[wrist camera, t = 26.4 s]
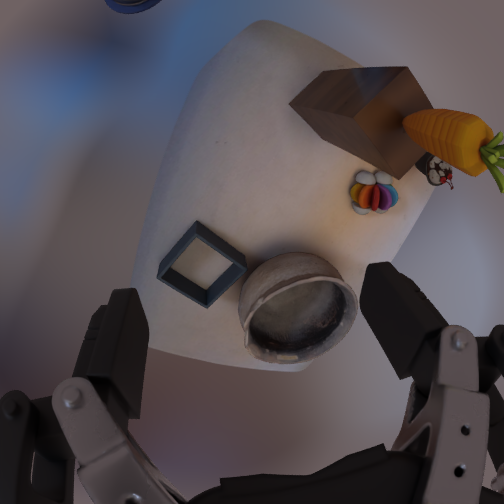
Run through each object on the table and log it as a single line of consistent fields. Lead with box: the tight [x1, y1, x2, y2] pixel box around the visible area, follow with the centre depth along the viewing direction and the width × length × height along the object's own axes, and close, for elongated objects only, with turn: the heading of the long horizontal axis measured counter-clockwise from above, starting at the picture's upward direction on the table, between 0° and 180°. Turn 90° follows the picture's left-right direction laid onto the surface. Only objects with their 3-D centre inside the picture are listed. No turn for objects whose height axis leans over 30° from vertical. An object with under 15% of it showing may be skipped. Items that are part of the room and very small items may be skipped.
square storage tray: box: [157, 221, 248, 308], centre depth 56 cm, size 12×12×5 cm
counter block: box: [289, 67, 434, 180], centre depth 35 cm, size 9×9×24 cm
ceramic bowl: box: [238, 252, 358, 364], centre depth 57 cm, size 22×22×15 cm
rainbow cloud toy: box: [350, 171, 398, 215], centre depth 52 cm, size 8×10×7 cm
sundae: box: [415, 152, 453, 190], centre depth 45 cm, size 7×7×15 cm
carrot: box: [402, 109, 504, 193], centre depth 18 cm, size 5×5×15 cm
